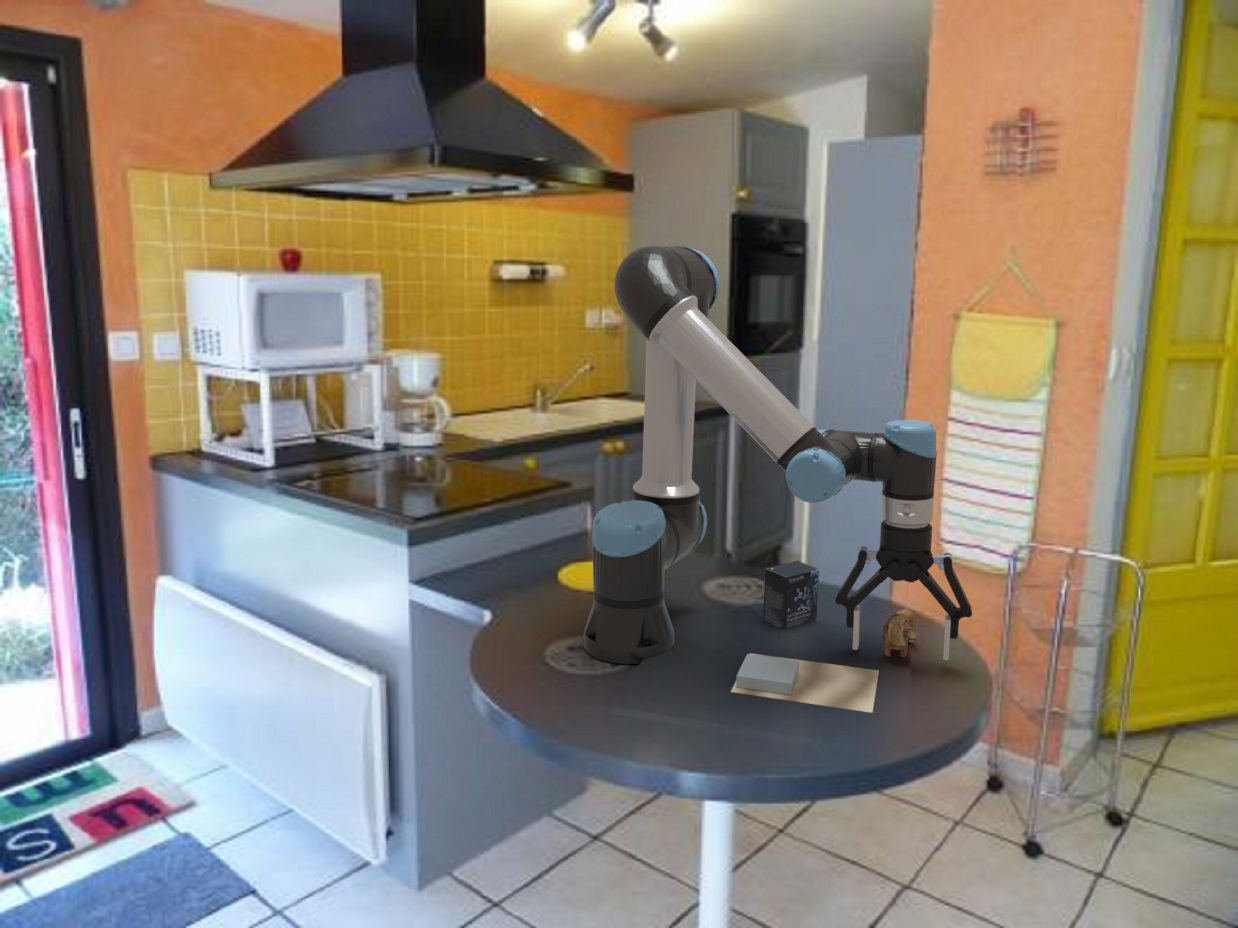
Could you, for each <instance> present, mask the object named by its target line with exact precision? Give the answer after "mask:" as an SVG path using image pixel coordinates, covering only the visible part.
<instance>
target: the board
mask: <svg viewBox="0 0 1238 928" xmlns="http://www.w3.org/2000/svg"><path fill="white" fill-rule="evenodd" d="M748 654H751V655H759V656H766V657H774V658H781V659H789V660H796V661H799V673H798V676H797V679H796V682H795V685H794V687H793V690H792V693H791V695H787V694H780V693H773V692H766V691H760V690H753V689H746V688H739V687H736V681H735V682H734V684H733V686H732V688H731V690H730V693H736V694H741V695H749V696H755V697H762V698H763V697H764V698H769V699H775V700H782V701H790V702H797V703H803V704H810V705H816V706H822V707H823V706H824V707H830V708H836V709H843V710H849V711H850V710H851V711H856V712H857V711H858V712H864V713H871V714H873V713H874V706H875V705H874V704H875V699H876V693H877V686H878V678H879V673H880V670H879V669H870V668H864V667H863V668H862V667H855V666H848V665H841V664H832V663H825V662H819V661H811V660H803V659H795V658H787V657H782V656H780V657H779V656H772V655H766V654H759V653H758V654H757V653H748Z"/></svg>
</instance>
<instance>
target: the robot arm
mask: <svg viewBox="0 0 1238 928" xmlns="http://www.w3.org/2000/svg"><path fill="white" fill-rule="evenodd" d="M613 284H614V293H615V299H616V302H617V303H618V306H619V307H620V310H621V311H622V312H623V314H624V315H625V316H626V318H627V319H628V320H629V321H630V322H631V323H632V325H633V326H634V327H636V329H637V330H638V332H640V333H641V335H642V336H644V338H645V339H646V347H645V350H646V352H645V377H644V378H645V379H644V408H643V410H644V412H643V413H644V414H643V437H642V438H643V439H642V442H643V443H642V445H643V446H642V468H641V469H642V470H641V471H642V472H641V476H640V478H639V479H638V480H637V481H636V482H635V483H634V484H633V485H632V499H630V500H623V501H621V502H619V503H617V502H614V503H611V504H609V505H606V506H604V507H603V508H601V509H600V510H599V511H598V512H597V513H596V514H595V516H594V519H593V523H592V532H591V544H592V579H593V581H592V585H593V602H592V605H591V609H590V612H589V615H588V618H587V622H586V624H585V628H584V630H583V648H584V651H585V652H586V653H587V654H588V655H589V656H591V657H592V658H593V657H594V658H595V659H597V660H600V661H603V662H608V663H612V664H619V665H621V664H622V665H630V664H631V665H633V664H637V665H638V664H641V663H642V662H643V660H644V659H648V658H653V657H657V656H659V655H662V654H664V653H666V652H668V651H670V649H672V648H673V646H674V645H675V637H676V636H675V629H674V627H673V624H672V619H671V618H670V614H669V612H668V609H667V605H666V603H665V570H667V569H668V568H669V567H672V566H673V565H674V564H675V563H678V562H679V561H680V560H682V559H684V558H686V557H688V556H689V555H690V554H691V553H693V551H694V550H695V549H696V548H697V546H699V545H700V544H701V542H702V540H703V539H704V537H705V534H706V532H707V527H708V526H707V525H708V517H707V512H706V509H705V506H704V504H702V503H701V502H700V487H699V486H698V484H697V483H696V482H695V481H694V480H693V479H692V473H693V455H694V454H693V453H694V434H695V433H694V428H695V410H696V409H695V408H696V407H695V406H696V388H697V382H698V384H699V385H701V386H702V387H703V388H704V390H706V391H707V393H708V394H710V396H711V397H712V398H713V399H714V400H715V401H716V402H717V403H718V404H719V405H720V406H721V407H722V408H723V409H724V410H725V411H726V412H727V413H728V414H729V416H731V418H732V419H734V420H735V422H736V423H738V425H740V427H741V428H742V429H743V430H744V431H745V432H746V433H747V434H748V435H749V436H750V437H751V438H752V439H753V440H754V441H755V442H756V443H757V444H758V445H759V446H760V447H761V448H762V449H763V450H764V452H766V454H768V456H769V457H770V458H771V459H772V460H774V462H775V463H776V464H777V465H778V466H779V467H780V468H781V469H782V470H783V471H784V472H785V480H786V481H785V482H786V484H787V486H788V490H789V491H790V493H791V494H792V495H793V496H795V497H796V498H797V499H799V500H800V501H803V502H805V503H811V504H813V503H814V504H815V503H822V502H824V501H827V500H828V499H830V498H832V497H834V496H836V495H838V494H839V493H840V492H841V491H842V489H843V488H844V487H845V486H846V485H848V483H850V482H851V481H863V482H873V483H877V482H878V483H881V485H882V489H881V491H882V493H881V511H880V512H881V514H880V517H881V519H882V522H880V532H879V533H880V537H879V547H878V550H877V551H876V550H872V549H868V547H866V546H861V547H860V549H859V551H858V556H857V561H856V563H855V564H854V566H853V567H852V568H851V571H850V572H849V574H848V576H847V577H846V579H845V580H844V582H843V584H842V586H840V589H839V590H838V592H837V594H836V596H835V600H834V601H835V604H837V606H838V605H839V606H843V607H845V609H846V618H845V619H846V621H845V622H846V627H847V628H848V629H852V630H853V631H852V650H855V651H857V650H858V649H859V643H860V626H861V625H860V622H861V620H860V619H861V604H860V603H861V602H863V600H864V599H866V598H867V596H868V595H870V594H871V593H872V592H873V591H875V589H876V588H877V587H878V586H879V585H881V584H882V583H883V582H885V580H887V578H889V579H891V580H892V581H893V582H902V581H904V582H908V583H914V582H917V581H919V582H921V583H920V584H922V585H923V587H925V588H926V589H927V591H928V592H929V593H930V594H931V595H932V597H933V598H934V599H935V600H936V601H937V603H938V604H939V605H940V607H941V608H942V609H943V610H944V611H945V612H946V613H945V617H944V619H945V620H944V633H943V634H944V635H943V648H942V649H943V650H942V651H943V653H942V656H943V657H942V660H943V661H949V656H950V655H949V654H950V639H951V640H952V639H953V640H957V638H958V636H959V621H960V620H961V619H963V618H971V617H972V615H973V611H972V605H971V603H970V601H969V599H968V598H967V597H968V596H967V595H966V593H965V591H964V589H963V586H962V585H961V582H960V580H959V578H958V576H957V573H956V571H955V570H954V567H953V556H952V554H951V553H950V552H946V553H944V554H943V555H942V554H941V555H933V553H932V539H933V538H932V535H933V533H932V532H933V525H932V524H931V522H932V521H933V519H934V503H935V501H934V500H935V485H936V484H935V482H936V469H937V467H936V466H937V455H938V452H937V429H936V427H935V426H934V425H933V424H932V423H931V422H927V421H924V420H917V419H895V420H891V421H888V422H886V424H885V426H884V427H885V428H884V430H883V432H865V431H852V430H851V431H850V430H839V429H835V428H828V429H817V428H816V427H815V426H814V425H813V424H812V422H810V421H809V419H807V418H806V417H805V416H804V414H803V413H802V412H800V410H799V409H798V408H797V407H795V405H794V404H792V402H790V400H789V399H788V398H786V396H785V395H784V394H783V393H782V392H781V391H780V390H779V389H778V388H777V387H776V386H775V385H774V384H773V383H772V382H771V381H770V380H769V379H768V378H767V377H766V376H765V375H764V374H763V373H762V372H761V371H760V370H759V368H757V367H756V366H755V365H754V364H753V362H751V360H749V359H748V358H747V356H745V354H743V353H742V352H741V351H740V349H739V348H738V347H736V346H735V345H734V344H733V343H732V342H731V340H730V339H728V337H727V336H726V335H724V333H722V332H721V330H720V329H718V327H717V326H716V325H715V324H714V323H713V322H712V321H711V320H710V319H709V311H710V310H711V309H712V307H713V306H714V304H715V303H716V301H717V299H718V297H719V293H720V285H721V284H720V277H719V273H718V271H717V269H716V266H715V264H714V263H713V262H712V260H711V259H710V258H709V257H708V256H707V255H706V254H704V253H703V252H702V251H699V250H696V249H695V248H691V247H688V246H681V245H675V246H673V245H672V246H670V245H669V246H668V245H667V246H662V245H646V246H642V247H640V248H637V249H635V250H632V251H631V252H630V253H628V254H627V255H626V256H625V257H624V258H623V259H622V261H621V262H620V264H619V266H618V268H617V270H616V272H615V277H614V282H613ZM873 560H876V561H877V564H879V566H880V568H878V569H877V570H876V571H875V573H874V574H873V575H872V576H871V577H870V578H869V579H868V580H867V581H865V582H864V583H863V584H862V586H861V587H859V588H858V589H857V590H856V591H855V592H854V593H853V594H852V595H851V596H848V595H849V593H850V591H851V590H852V588H853V587H854V585H855V584H856V582H857V580H858V578H859V577H860V576H861V573H862V572H863V570H864V568H865V565H869V564H871V562H872V561H873ZM933 565H936V566H937V568H938V569H939V570H941V571H943V572H944V576H945V579H946V580H947V582H948V584H949V587H950V589H951V591H952V593H953V595H954V597H955V600H956V601H957V605H959V607H957V605H955V603H954V602H953V601H952V600H951V598H950V597H949V595H947V594H946V592H945V591H944V590H943V588H942V587H941V586H940V585H939V584H938V582H937V581H936V580H935V579H934V578H933V575H932V574H931V573H930V571H929V570H930V569H931V567H933Z"/></svg>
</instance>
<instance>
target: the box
mask: <svg viewBox="0 0 1238 928" xmlns="http://www.w3.org/2000/svg"><path fill="white" fill-rule="evenodd" d="M764 571H765V572H764V590H763V591H764V592H763V593H764V594H763V596H764V597H763V610H762V611H763V612H762V613H763V614H762V615H763V616H762V620H763V621H765V622H766V623H769V624H770V625H772V626H775V627H778V628H779V629H781V630H784V631H785V630H786V631H787V630H789V629H792V628H796V627H799V626H801V625H805V624H808V623H812V622H813V623H817V617H818V596H819V580H820V579H819V575H820V569H819V568H817V567H815V566H813V565H810V564H807V563H805V562H802V561H799V560H794V561H791V562H787V563H784V564H780V565H779V564H778V565H776V566H771V567H765V570H764Z"/></svg>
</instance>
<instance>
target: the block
mask: <svg viewBox="0 0 1238 928" xmlns="http://www.w3.org/2000/svg"><path fill="white" fill-rule="evenodd" d="M751 654H752V653H751ZM751 654H749V653H746V656H745V657H744V660H743V662H742V664H741V666H740V667H739V670H738V672H737V674H736V677H735V679H736V680H735V682H736V687H739V688H746V689H753V690H760V691H766V692H773V693H780V694H787V695H791V693H792V690H793V687H794V685H795V682H796V679H797V676H798V673H799V661H796V660H797V659H796V660H789V659H790V658H789V659H781V658H782V657H781V658H774V657H775V656H774V657H766V656H767V655H766V656H759V655H760V654H759V655H751Z"/></svg>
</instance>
